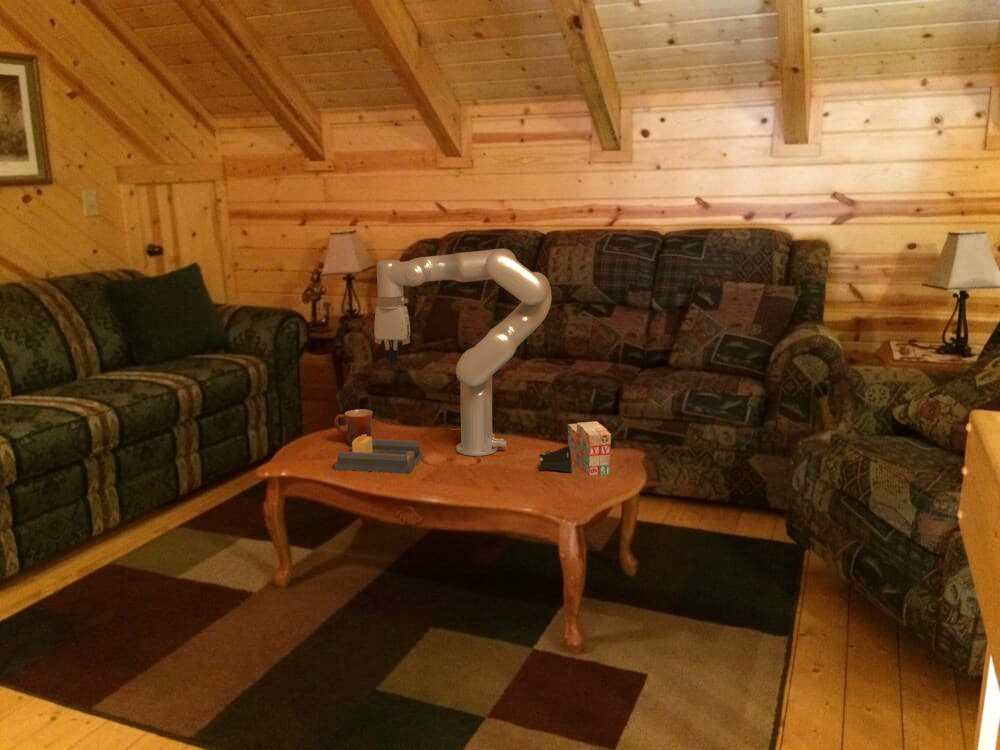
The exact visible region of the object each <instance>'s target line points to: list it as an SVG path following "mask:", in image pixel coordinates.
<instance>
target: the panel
mask: <svg viewBox="0 0 1000 750" xmlns="http://www.w3.org/2000/svg"><path fill="white" fill-rule="evenodd" d="M347 452H353V451H352V447H351V448H350V449H349V450H348V451H347ZM373 453H383V454H403V455H407V466H406V467H390V466H370V465H351V464H338V460H337V461H336V462H335V463H334V470H335V471H347V470H359V471H358V472H366V471H374V472H373V473H385V472H390V473H389V474H404V473H406V474H407V475H408V474H409V475H410V474H411V473H412V472H413V471H414V470H415V468H416V467H415V466H417V465H418V464H419V463H420V462H421V461H422V460H423V451H419V452H418V453H415V451H406V450H385V449H373ZM420 460H421V461H420ZM419 461H420V462H419ZM376 471H377V472H376Z"/></svg>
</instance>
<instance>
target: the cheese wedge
mask: <svg viewBox="0 0 1000 750" xmlns="http://www.w3.org/2000/svg"><path fill="white" fill-rule="evenodd" d="M372 439H373V436H372V437H367V434H363V435H361V436H359V437H357V438H356V439H355V440H354V441H353V442H352V447H351V448H352V451H353V452H362V453H373V449H372Z"/></svg>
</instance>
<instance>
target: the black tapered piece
mask: <svg viewBox="0 0 1000 750" xmlns="http://www.w3.org/2000/svg"><path fill="white" fill-rule="evenodd" d="M539 464H540V468H541V472H544V471H546V470H550V471H557V472H558V471H559V472H564V473H572V472H573V458H572V457H571V452H570V448H569V446H568V445H566V446H563V447H560V448H558V449H556V450H553V449H551V448H549V449H548V450H546V451H545V452H544V454H543V453H539Z"/></svg>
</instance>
